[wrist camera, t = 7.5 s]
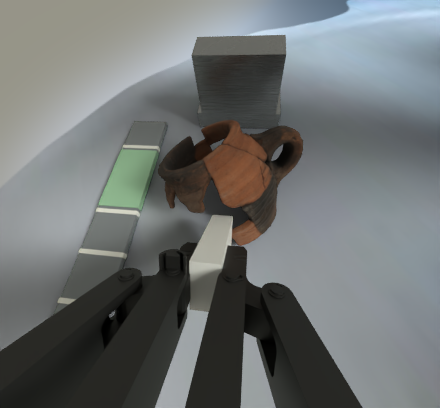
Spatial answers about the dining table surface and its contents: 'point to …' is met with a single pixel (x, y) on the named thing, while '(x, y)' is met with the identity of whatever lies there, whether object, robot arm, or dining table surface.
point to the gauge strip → (116, 212)
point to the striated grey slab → (239, 79)
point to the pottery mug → (233, 172)
